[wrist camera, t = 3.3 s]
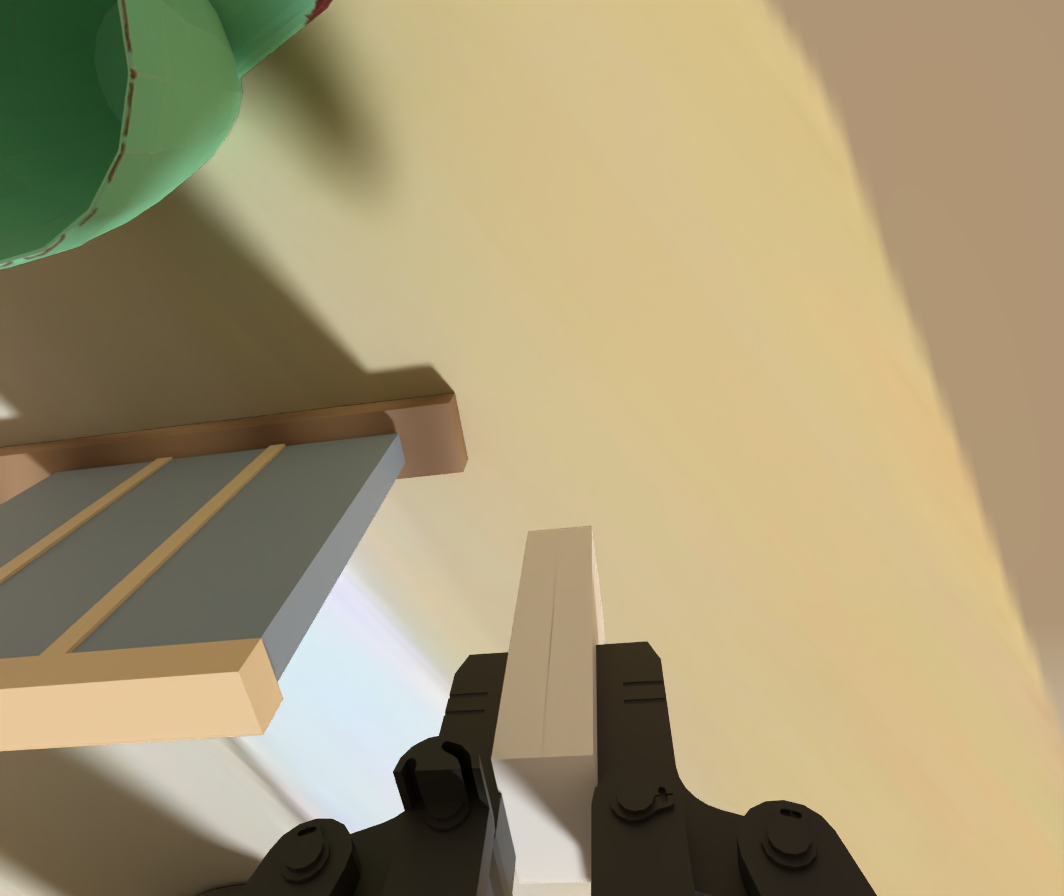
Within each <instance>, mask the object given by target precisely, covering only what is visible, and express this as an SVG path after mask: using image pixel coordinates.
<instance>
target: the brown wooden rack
mask: <svg viewBox="0 0 1064 896" xmlns="http://www.w3.org/2000/svg"><path fill="white" fill-rule="evenodd" d="M396 433H399V437H400V441H401V445H402V450H403V454H404V458H405V462H406V463H405V465H404V466H403V468H402V470H401V471H400V473H399V475H398V477H397V478H396V479H401V478H411V477H420V476H430V475H439V474H448V473H458V472H463V471H464V468H465V466H466V463H467V460H468V457H467V452H466V447H465V442H464V437H463V432H462V427H461V422H460V417H459V412H458V407H457V402H456V396H455V393H449V394H441V395H433V396H424V397H416V398H408V399H399V400H391V401H383V402H374V403H366V404H358V405H349V406H341V407H333V408H325V409H316V410H308V411H300V412H291V413H283V414H275V415H266V416H258V417H250V418H242V419H233V420H225V421H217V422H208V423H200V424H192V425H183V426H175V427H167V428H158V429H150V430H142V431H134V432H125V433H117V434H109V435H100V436H92V437H84V438H75V439H67V440H59V441H51V442H42V443H34V444H26V445H17V446H9V447H1V448H0V505H1V504H3V503H4V502H6V501H8V500H9V499H11V498H13V497H15V496H16V495H18V494H20V493H21V492H23V491H25V490H26V489H28V488H30V487H31V486H33V485H35V484H37V483H38V482H40V481H42V480H43V479H45V478H47V477H48V476H50V475H52V474H54V473H55V472H64V471H73V470H81V469H90V468H99V467H108V466H116V465H125V464H134V463H143V462H151V461H155V460H156V459H157V458H165V457H172V458H173V459H178V458H186V457H195V456H204V455H213V454H221V453H230V452H239V451H248V450H256V449H265V448H268V447H269V446H270V445H278V444H285V445H286V446H291V445H300V444H309V443H317V442H326V441H335V440H344V439H352V438H361V437H370V436H379V435H387V434H396Z"/></svg>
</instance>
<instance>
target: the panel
mask: <svg viewBox="0 0 1064 896" xmlns="http://www.w3.org/2000/svg"><path fill="white" fill-rule="evenodd" d="M405 463H406V462H405V458H404V454H403V450H402V445H401V441H400V437H399V433H396V434H387V435H379V436H370V437H361V438H352V439H344V440H335V441H326V442H317V443H309V444H300V445H291V446H286V445H285V444H278V445H270V446H269V447H268V448H265V449H256V450H248V451H239V452H230V453H221V454H213V455H204V456H195V457H186V458H178V459H173V458H172V457H165V458H157V459H156V460H155V461H151V462H143V463H134V464H125V465H116V466H108V467H99V468H90V469H81V470H73V471H64V472H55V473H54V474H52V475H50V476H48V477H47V478H45V479H43V480H42V481H40V482H38V483H37V484H35V485H33V486H31V487H30V488H28V489H26V490H25V491H23V492H21V493H20V494H18V495H16V496H15V497H13V498H11V499H9V500H8V501H6V502H4V503H3V504H1V505H0V751H12V750H29V749H45V748H61V747H77V746H93V745H109V744H125V743H141V742H157V741H173V740H189V739H205V738H221V737H238V736H254V735H263V734H264V732H265V730H266V729H267V727H268V725H269V723H270V721H271V720H272V718H273V716H274V714H275V712H276V711H277V709H278V707H279V705H280V703H281V702H282V700H283V697H282V694H281V691H280V688H279V686H278V683H277V682H278V680H279V679H280V677H281V675H282V673H283V672H284V670H285V668H286V667H287V665H288V663H289V661H290V660H291V658H292V656H293V655H294V653H295V651H296V649H297V648H298V646H299V644H300V643H301V641H302V639H303V637H304V636H305V634H306V632H307V631H308V629H309V627H310V625H311V624H312V622H313V620H314V619H315V617H316V615H317V613H318V612H319V610H320V608H321V607H322V605H323V603H324V601H325V600H326V598H327V596H328V595H329V593H330V591H331V590H332V588H333V586H334V584H335V583H336V581H337V579H338V578H339V576H340V574H341V572H342V571H343V569H344V567H345V566H346V564H347V562H348V560H349V559H350V557H351V555H352V554H353V552H354V550H355V548H356V547H357V545H358V543H359V542H360V540H361V538H362V536H363V535H364V533H365V531H366V530H367V528H368V526H369V524H370V523H371V521H372V519H373V518H374V516H375V514H376V513H377V511H378V509H379V507H380V506H381V504H382V502H383V501H384V499H385V497H386V495H387V494H388V492H389V490H390V489H391V487H392V485H393V483H394V482H395V480H396V478H397V477H398V475H399V473H400V471H401V470H402V468H403V466H404V465H405Z"/></svg>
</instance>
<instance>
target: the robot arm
mask: <svg viewBox="0 0 1064 896" xmlns="http://www.w3.org/2000/svg"><path fill="white" fill-rule="evenodd" d="M393 774H394V777H395V780H396V783H397V787H398V790H399V793H400V796H401V800H402V803H403V806H404V809H405V811H404V812H402V813H401V814H399V815H398V816H396V817H395V818H393V819H391V820H388V821H386V822H384V823H382V824H379V825H376V826H373V827H370V828H367V829H364V830H361V831H358V832H355V833H352V834H350V833H349V832H348V830H347V828H346V827H345V825H344V824H342V823H340V822H338V821H336V820H334V819H314V820H311V821H308V822H305V823H302V824H299V825H298V826H296V827H295V828H293V829H292V830H290V831H289V832H287V833H286V834H284V835H283V836H282V837H281V838H280V839H279V840H278V842H277V843H276V844H275V845H274V846H273V847H272V848H271V849H270V851H269V852H268V853H267V855H266V856H265V858H264V859H263V861H262V862H261V864H260V865H259V866H258V868H257V869H256V871H255V872H254V874H253V875H252V876H251V878H250V879H249V881H248V882H247V884H246V885H241V886H231V887H225V888H220V889H216V890H212V891H209V892H206V893H203V894H201V895H198V896H513V895H512V890H513V880H514V871H515V867H516V871H517V875H518V880H519V884H521V883H569V882H591V896H877V895H876V893H875V892H874V890H873V889H872V887H871V886H870V884H869V883H868V881H867V879H866V878H865V876H864V875H863V873H862V872H861V870H860V869H859V867H858V865H857V864H856V862H855V861H854V859H853V858H852V856H851V855H850V853H849V852H848V850H847V848H846V847H845V845H844V844H843V842H842V841H841V839H840V838H839V836H838V834H837V833H836V831H835V830H834V829H833V828H832V827H831V826H830V825H829V824H828V822H827V821H826V820H825V819H824V818H823V817H822V816H821V815H819V814H818V813H816V812H814V811H812V810H811V809H809V808H807V807H806V806H804V805H801V804H797V803H793V802H789V801H785V800H780V801H766V802H763V803H761V804H759V805H757V806H755V807H753V808H751V809H750V810H749V811H748V812H747V813H746V815H745V816H742V815H738V814H734V813H731V812H727V811H723V810H720V809H717V808H715V807H712V806H709V805H707V804H705V803H704V802H702V801H700V800H699V799H697V798H696V797H694V796H693V795H692V794H691V793H690V792H689V791H688V790H687V789H686V788H685V786H684V784H683V783H682V781H681V780H680V778H679V775H678V772H677V769H676V764H675V757H674V750H673V743H672V736H671V729H670V722H669V715H668V707H667V701H666V693H665V686H664V679H663V672H662V665H661V659H660V658H659V656H658V655H657V654H656V652H655V651H654V650H653V648H652V647H651V646H650V644H649V643H648V642H633V643H618V644H605V641H604V618H603V610H602V603H601V595H600V587H599V579H598V571H597V564H596V556H595V548H594V540H593V532H592V526H583V527H572V528H561V529H549V530H538V531H528V535H527V541H526V547H525V554H524V560H523V566H522V572H521V578H520V584H519V591H518V597H517V603H516V609H515V615H514V621H513V628H512V634H511V640H510V646H509V652H506V653H491V654H476V655H469V657H468V658H467V659H466V660H465V662H464V663H463V664H462V665H461V667H460V668H459V669H458V671H457V672H456V673H455V676H454V680H453V684H452V687H451V691H450V699H448V703H447V707H446V711H445V716H444V718H443V722H442V726H441V730H440V734H439V736H436V737H431V738H428V739H426V740H424V741H422V742H420V743H418V744H416V745H414V746H413V747H411V748H410V749H409V750H408V751H407V752H406V753H405V754H404V755H403V756H402V757H401V758H400V760H399V762H398V763H397V765H396V767H395V769H394V771H393Z"/></svg>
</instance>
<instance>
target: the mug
mask: <svg viewBox="0 0 1064 896" xmlns="http://www.w3.org/2000/svg"><path fill="white" fill-rule="evenodd" d="M332 1H333V0H0V269H4V268H10V267H13V266H16V265H20V264H23V263H27V262H30V261H33V260H37V259H40V258H44V257H47V256H50V255H54V254H57V253H60V252H64V251H67V250H70V249H73V248H76V247H79V246H81V245H83V244H84V243H86V242H88V241H89V240H91V239H93V238H96V237H98V236H100V235H102V234H104V233H106V232H108V231H110V230H113V229H115V228H117V227H119V226H121V225H123V224H125V223H127V222H129V221H130V220H132V219H134V218H135V217H137V216H138V215H140V214H141V213H143V212H144V211H146V210H147V209H149V208H150V207H152V206H153V205H155V204H156V203H158V202H159V201H161V200H162V199H163V198H164V197H165V196H167V195H168V194H169V193H170V192H172V191H173V190H174V189H175V188H176V187H178V186H179V185H180V184H181V183H183V182H184V181H185V180H186V179H187V178H189V177H190V176H191V175H192V174H193V173H195V172H196V171H197V170H198V169H199V168H200V167H201V166H203V165H204V164H205V163H206V162H207V161H208V160H209V159H211V158H212V157H213V156H214V154H215V153H216V151H217V150H218V148H219V147H220V145H221V144H222V142H223V141H224V139H225V138H226V136H227V135H228V133H229V131H230V129H231V127H232V126H233V124H234V122H235V120H236V119H237V117H238V113H239V107H240V102H241V97H242V84H241V77H242V76H243V75H245V74H246V73H247V72H248V71H250V70H251V69H252V68H253V67H255V66H256V65H257V64H258V63H260V62H261V61H262V60H263V59H265V58H266V57H267V56H268V55H270V54H271V53H272V52H273V51H275V50H276V49H277V48H278V47H280V46H281V45H282V44H283V43H285V42H286V41H287V40H288V39H289V38H291V37H292V36H293V35H294V34H296V33H297V32H298V31H299V30H301V29H302V28H303V27H304V26H306V25H307V24H308V23H309V22H311V21H312V20H313V19H314V18H316V17H317V16H318V15H319V14H321V13H322V12H323V11H324V10H326V9H327V8H328V6H329V5H330V3H331V2H332Z"/></svg>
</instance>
